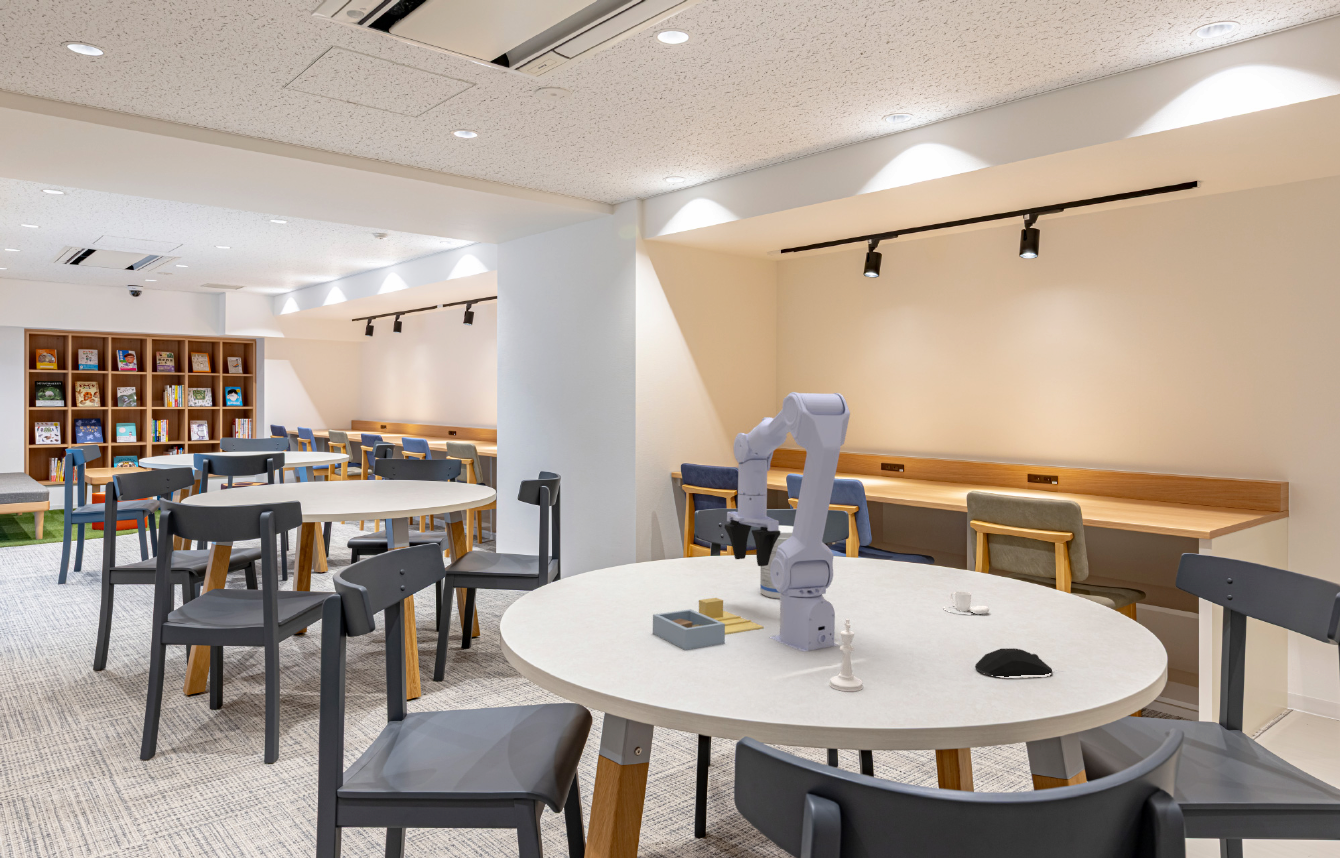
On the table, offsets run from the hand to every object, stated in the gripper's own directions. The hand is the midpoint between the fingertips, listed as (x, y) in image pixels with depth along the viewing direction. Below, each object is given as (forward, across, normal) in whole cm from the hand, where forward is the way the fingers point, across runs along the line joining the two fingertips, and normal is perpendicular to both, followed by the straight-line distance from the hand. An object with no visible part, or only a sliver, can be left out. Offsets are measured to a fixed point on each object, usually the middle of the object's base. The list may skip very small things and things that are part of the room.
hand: (751, 562), depth 160 cm
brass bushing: (+10, +12, -20) cm, 26 cm away
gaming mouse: (+11, +49, +17) cm, 53 cm away
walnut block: (+10, +9, -22) cm, 26 cm away
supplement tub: (+11, -10, +16) cm, 22 cm away
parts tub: (+10, +10, -21) cm, 25 cm away
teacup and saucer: (+11, +20, +39) cm, 45 cm away
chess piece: (+11, +40, -12) cm, 43 cm away
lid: (+10, +5, -10) cm, 15 cm away
